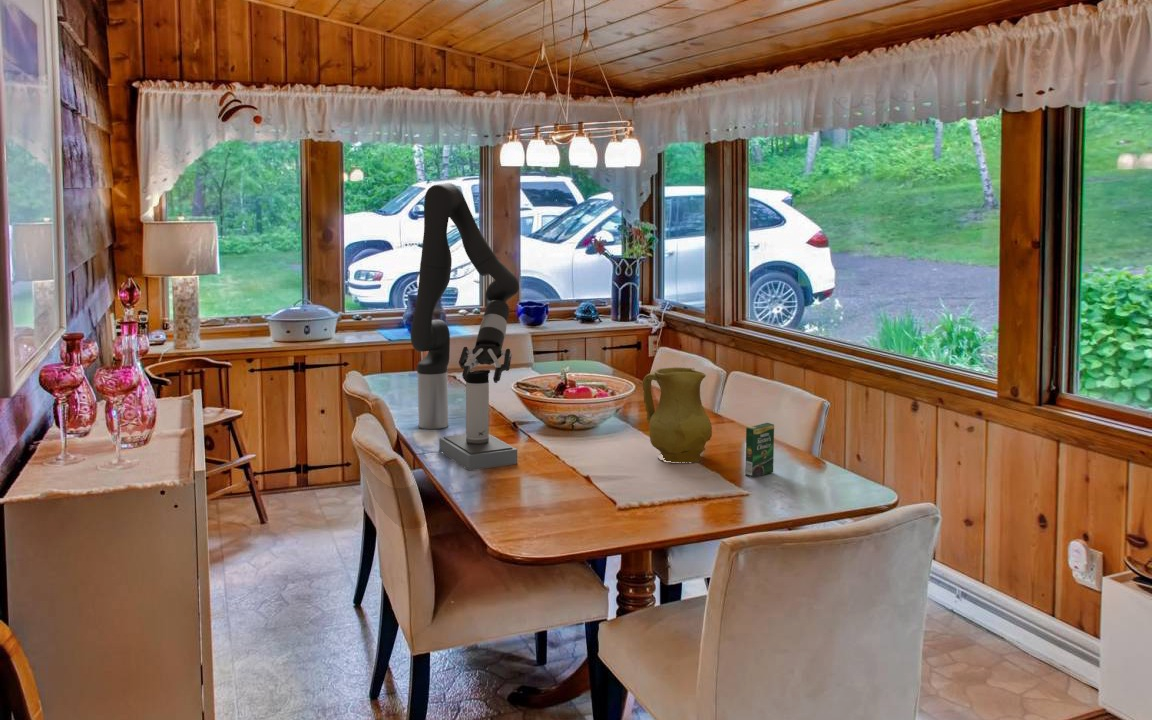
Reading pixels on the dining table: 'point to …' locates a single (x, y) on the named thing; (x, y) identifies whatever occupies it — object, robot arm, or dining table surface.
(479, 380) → the travel mug
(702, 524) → the dining table surface
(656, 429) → the pitcher
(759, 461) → the coffee box
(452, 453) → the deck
